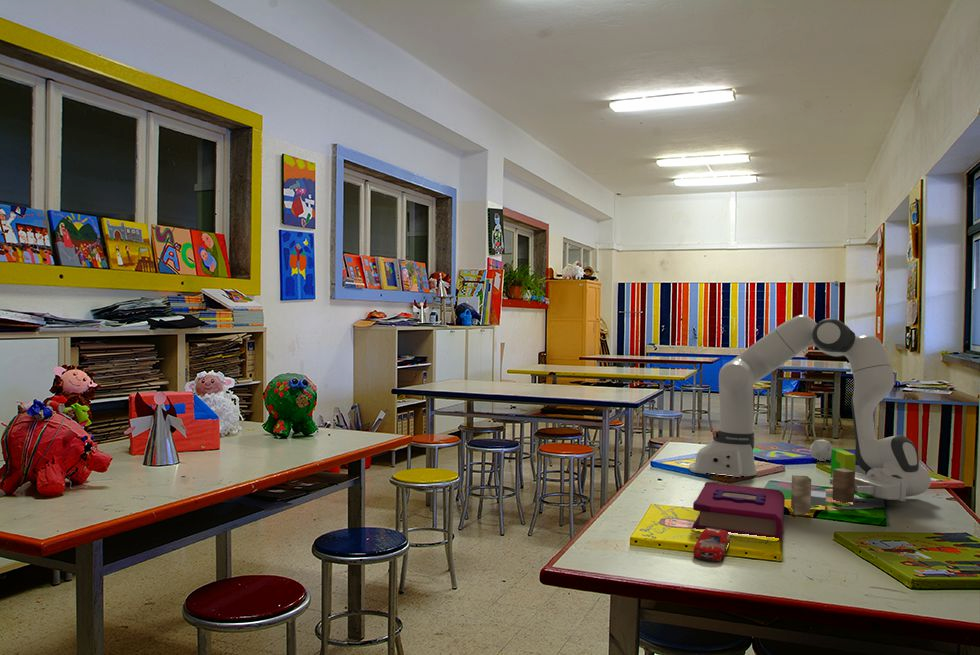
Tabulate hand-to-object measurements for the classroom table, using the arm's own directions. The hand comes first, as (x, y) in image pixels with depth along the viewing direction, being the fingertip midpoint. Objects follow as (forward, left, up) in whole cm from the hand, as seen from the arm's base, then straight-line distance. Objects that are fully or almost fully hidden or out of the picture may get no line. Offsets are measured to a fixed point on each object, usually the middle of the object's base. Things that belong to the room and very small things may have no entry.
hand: (843, 485), depth 212 cm
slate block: (-9, -6, -6) cm, 12 cm away
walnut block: (0, 0, -6) cm, 6 cm away
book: (-29, -30, -6) cm, 43 cm away
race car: (-36, -58, -6) cm, 69 cm away
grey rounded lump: (+3, +68, -6) cm, 68 cm away
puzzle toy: (+8, +33, -6) cm, 34 cm away
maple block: (-13, -15, -6) cm, 21 cm away
